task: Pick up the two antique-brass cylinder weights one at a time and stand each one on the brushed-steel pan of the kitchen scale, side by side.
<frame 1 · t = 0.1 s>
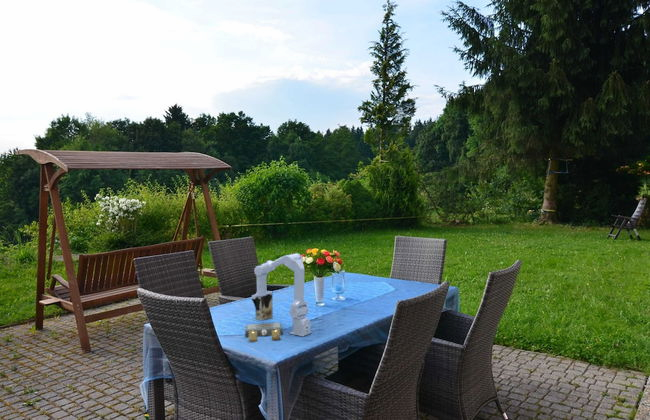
hand: (262, 308, 279), 10 cm above the table, tool pointing down, fingers open, 7 cm apart
scale: (263, 332, 266), on the table
weight a: (253, 340, 251), on the table
coffee box: (264, 319, 295), on the table
weight b: (275, 339, 253), on the table
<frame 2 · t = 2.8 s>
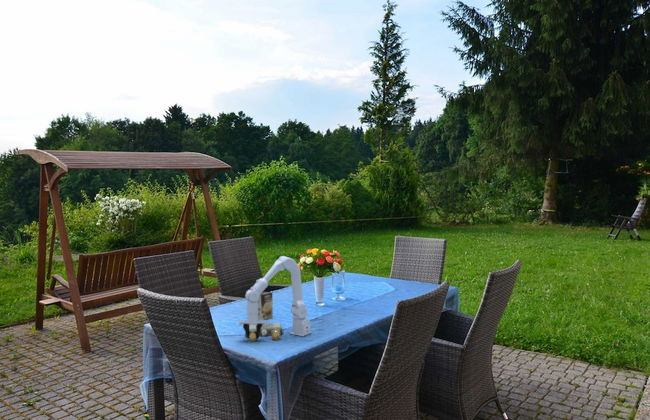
hand: (253, 338, 251), 1 cm above the table, tool pointing down, fingers closed on weight a, 4 cm apart
weight a: (253, 340, 251), on the table, touching gripper
everything else where it was.
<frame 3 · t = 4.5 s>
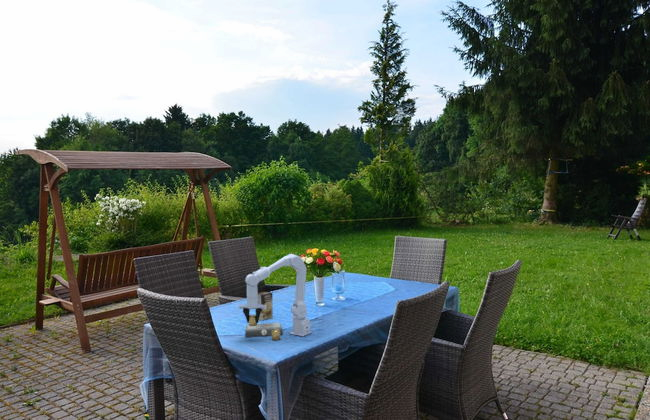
hand: (252, 322, 252), 9 cm above the table, tool pointing down, fingers closed on weight a, 4 cm apart
weight a: (252, 325, 252), point 8 cm above the table, touching gripper
everything else where it was.
when the fingers open (6 cm above the table, at t = 6.6 s): weight a drops 1 cm, resting on scale.
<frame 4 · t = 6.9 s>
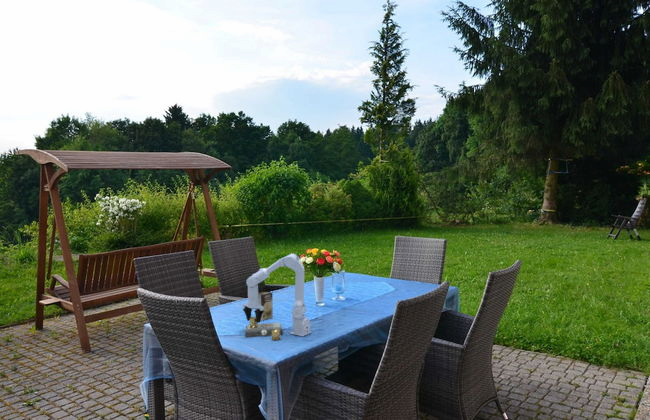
hand: (253, 321, 266), 6 cm above the table, tool pointing down, fingers open, 7 cm apart
weight a: (253, 326, 266), point 3 cm above the table, touching scale
everything else where it was.
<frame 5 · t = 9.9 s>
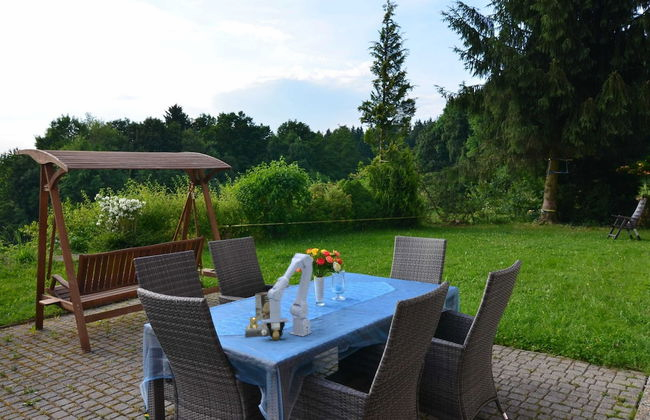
hand: (275, 336, 253), 1 cm above the table, tool pointing down, fingers closed on weight b, 4 cm apart
weight b: (275, 339, 253), on the table, touching gripper
everything else where it was.
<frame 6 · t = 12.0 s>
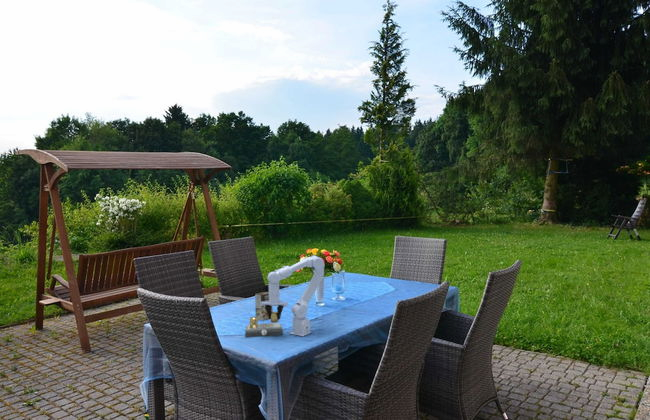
hand: (274, 319, 258), 9 cm above the table, tool pointing down, fingers closed on weight b, 4 cm apart
weight b: (274, 321, 258), point 8 cm above the table, touching gripper
everything else where it was.
when the fingers open (6 cm above the table, at t = 13.8 s): weight b drops 1 cm, resting on scale.
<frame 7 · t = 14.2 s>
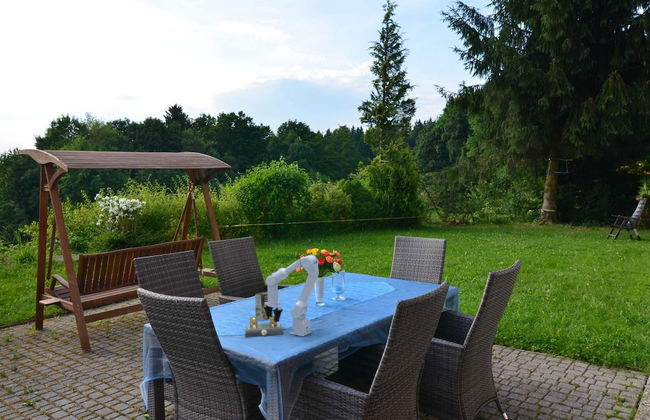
hand: (273, 320, 268), 6 cm above the table, tool pointing down, fingers open, 7 cm apart
weight b: (273, 325, 268), point 3 cm above the table, touching scale
everything else where it was.
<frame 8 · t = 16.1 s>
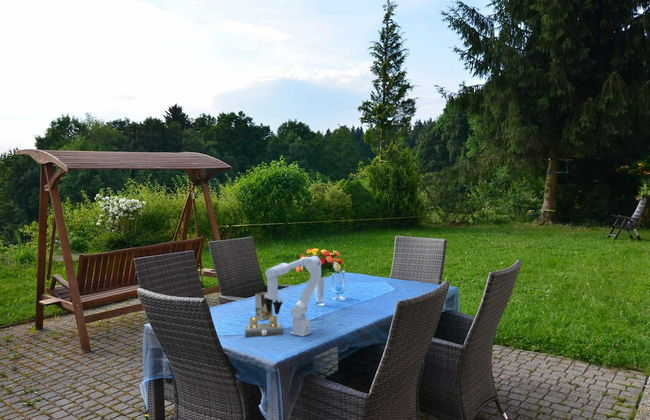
hand: (273, 312, 268), 10 cm above the table, tool pointing down, fingers open, 7 cm apart
nothing on the table moved.
at the end: weight a 0.0 cm from the target spot on the scale, point 3.2 cm above the scale's base; weight b 0.1 cm from the target spot on the scale, point 3.3 cm above the scale's base; the gripper is holding nothing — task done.
